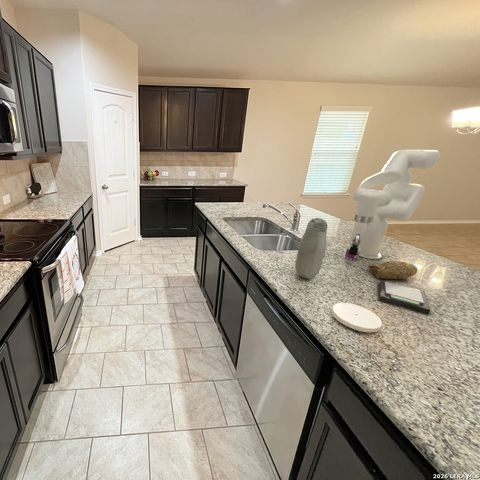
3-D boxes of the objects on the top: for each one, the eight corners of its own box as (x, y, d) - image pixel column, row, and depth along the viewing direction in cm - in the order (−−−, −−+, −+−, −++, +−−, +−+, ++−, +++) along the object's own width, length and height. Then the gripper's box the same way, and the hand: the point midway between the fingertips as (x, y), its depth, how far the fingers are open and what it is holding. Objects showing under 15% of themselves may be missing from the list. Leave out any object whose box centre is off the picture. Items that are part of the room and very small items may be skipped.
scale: (378, 284, 112) (380, 278, 111) (422, 295, 103) (424, 289, 102) (379, 300, 100) (381, 294, 99) (428, 315, 92) (431, 308, 91)
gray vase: (320, 282, 112) (337, 223, 102) (296, 280, 114) (310, 221, 104) (313, 272, 121) (327, 216, 111) (290, 270, 123) (302, 215, 113)
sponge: (381, 284, 114) (431, 279, 110) (380, 268, 112) (431, 262, 109) (362, 275, 126) (407, 270, 123) (361, 260, 125) (406, 254, 122)
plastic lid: (366, 311, 94) (368, 305, 93) (389, 338, 81) (391, 331, 80) (324, 306, 96) (326, 300, 96) (340, 331, 84) (342, 324, 83)
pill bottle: (354, 264, 126) (360, 246, 122) (342, 260, 130) (347, 243, 126) (357, 260, 129) (363, 243, 125) (345, 257, 133) (350, 240, 129)
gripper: (354, 213, 129) (345, 245, 136) (352, 221, 117) (342, 256, 124) (373, 215, 125) (362, 248, 131) (372, 224, 112) (361, 260, 119)
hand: (352, 252), depth 127 cm, fingers closed on pill bottle, 5 cm apart
